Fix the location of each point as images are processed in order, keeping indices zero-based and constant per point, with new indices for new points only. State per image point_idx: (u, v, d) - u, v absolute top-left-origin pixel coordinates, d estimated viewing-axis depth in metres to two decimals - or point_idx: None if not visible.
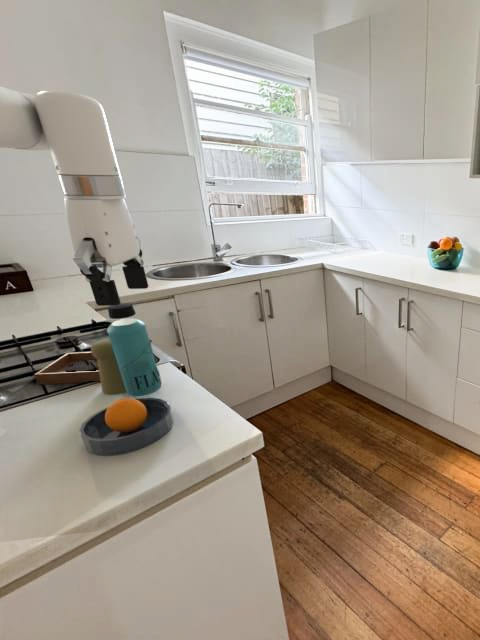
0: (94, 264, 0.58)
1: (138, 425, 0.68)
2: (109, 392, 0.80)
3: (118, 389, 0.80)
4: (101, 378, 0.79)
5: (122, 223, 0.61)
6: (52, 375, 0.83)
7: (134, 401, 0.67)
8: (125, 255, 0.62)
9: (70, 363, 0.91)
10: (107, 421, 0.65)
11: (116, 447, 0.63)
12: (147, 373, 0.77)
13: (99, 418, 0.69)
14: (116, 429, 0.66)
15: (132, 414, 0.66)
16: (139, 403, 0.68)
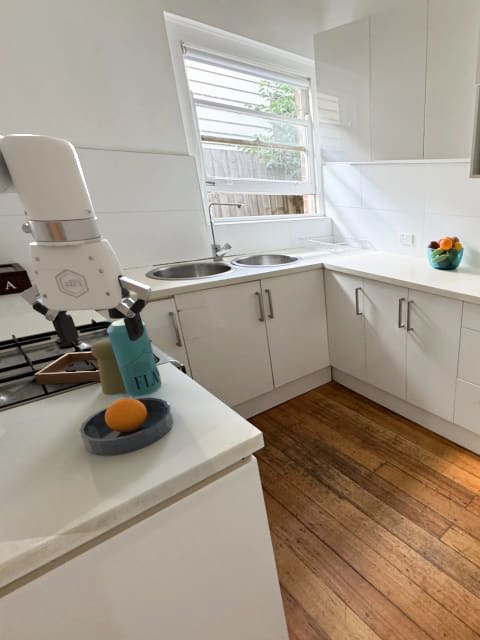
0: (122, 301, 0.60)
1: (138, 425, 0.68)
2: (109, 392, 0.80)
3: (118, 389, 0.80)
4: (101, 378, 0.79)
5: None
6: (52, 375, 0.83)
7: (134, 401, 0.67)
8: None
9: (70, 363, 0.91)
10: (107, 421, 0.65)
11: (116, 447, 0.63)
12: (147, 373, 0.77)
13: (99, 418, 0.69)
14: (116, 429, 0.66)
15: (132, 414, 0.66)
16: (139, 403, 0.68)
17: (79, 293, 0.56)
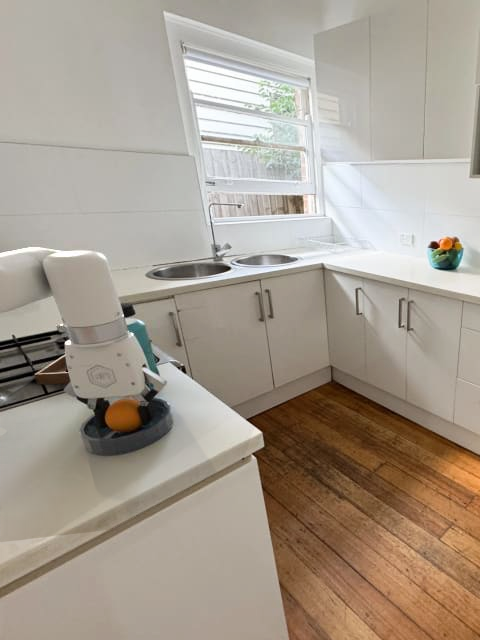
0: None
1: (138, 425, 0.68)
2: None
3: None
4: None
5: None
6: (52, 375, 0.83)
7: (134, 401, 0.67)
8: None
9: None
10: (107, 421, 0.65)
11: (116, 447, 0.63)
12: None
13: None
14: (116, 429, 0.66)
15: (132, 414, 0.66)
16: None
17: (107, 384, 0.62)
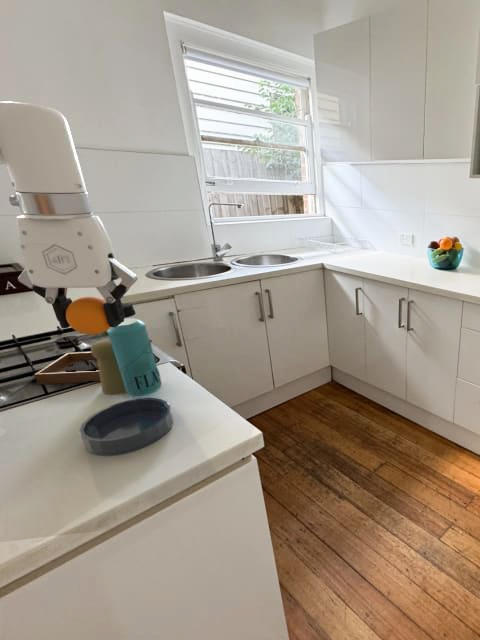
0: (106, 285, 0.58)
1: (104, 327, 0.60)
2: (109, 392, 0.80)
3: (118, 389, 0.80)
4: (101, 378, 0.79)
5: None
6: (52, 375, 0.83)
7: (100, 300, 0.60)
8: None
9: (70, 363, 0.91)
10: (68, 318, 0.58)
11: (116, 447, 0.63)
12: (147, 373, 0.77)
13: (99, 418, 0.69)
14: (78, 328, 0.58)
15: (97, 312, 0.59)
16: None
17: (67, 270, 0.55)
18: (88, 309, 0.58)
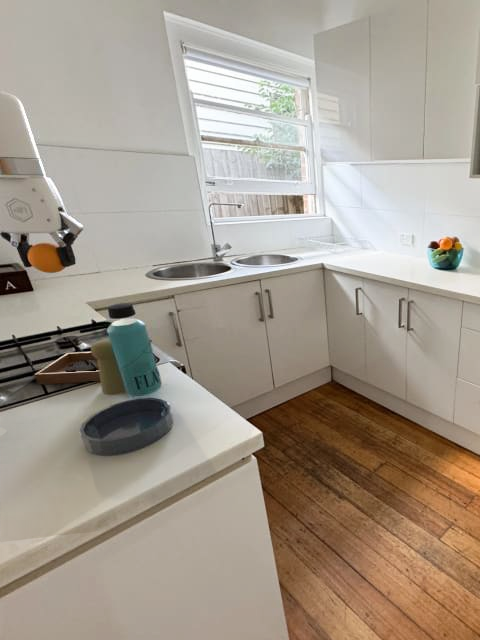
0: (58, 232, 0.75)
1: (58, 266, 0.77)
2: (109, 392, 0.80)
3: (118, 389, 0.80)
4: (101, 378, 0.79)
5: None
6: (52, 375, 0.83)
7: (54, 245, 0.77)
8: None
9: (70, 363, 0.91)
10: (29, 257, 0.74)
11: (116, 447, 0.63)
12: (147, 373, 0.77)
13: (99, 418, 0.69)
14: (37, 266, 0.75)
15: (52, 253, 0.75)
16: None
17: (25, 218, 0.71)
18: (44, 251, 0.75)
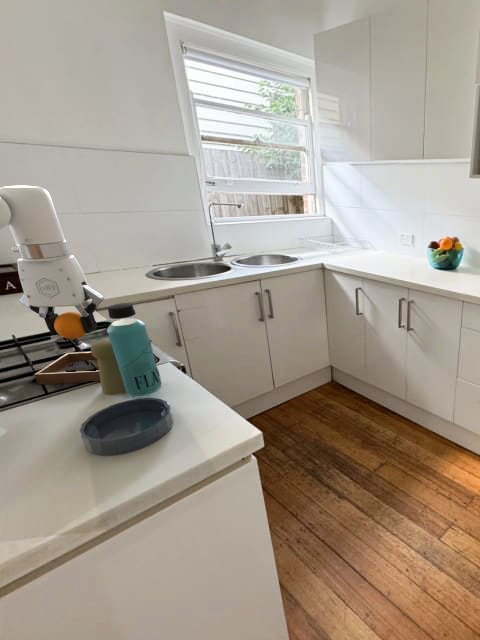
0: (81, 303, 0.83)
1: (81, 333, 0.84)
2: (109, 392, 0.80)
3: (118, 389, 0.80)
4: (101, 378, 0.79)
5: None
6: (52, 375, 0.83)
7: (78, 314, 0.84)
8: None
9: (70, 363, 0.91)
10: (55, 327, 0.82)
11: (116, 447, 0.63)
12: (147, 373, 0.77)
13: (99, 418, 0.69)
14: (63, 334, 0.83)
15: (76, 322, 0.83)
16: None
17: (53, 294, 0.79)
18: (69, 321, 0.82)
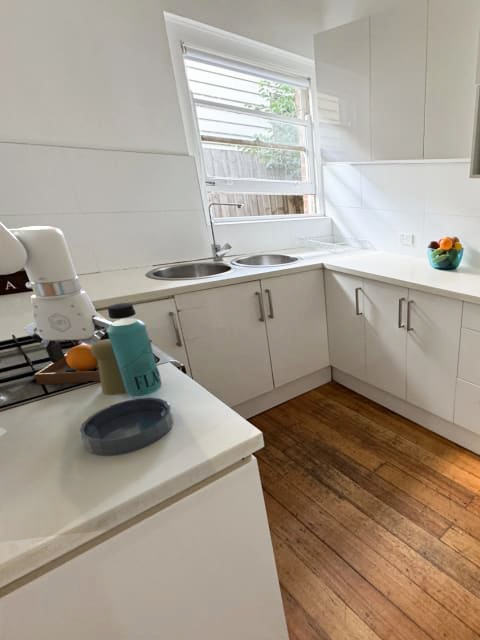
0: (95, 333, 0.86)
1: (93, 366, 0.88)
2: (109, 392, 0.80)
3: (118, 389, 0.80)
4: (101, 378, 0.79)
5: None
6: (52, 375, 0.83)
7: (89, 347, 0.87)
8: None
9: None
10: (67, 361, 0.85)
11: (116, 447, 0.63)
12: (147, 373, 0.77)
13: (99, 418, 0.69)
14: (75, 368, 0.86)
15: (87, 357, 0.86)
16: None
17: (64, 329, 0.82)
18: (81, 356, 0.85)
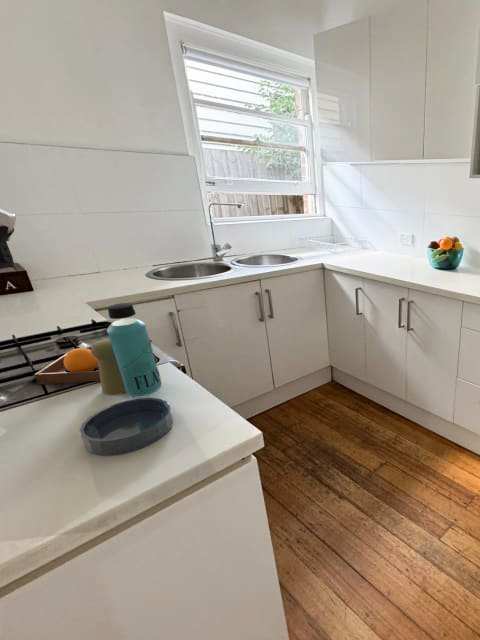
0: None
1: None
2: (109, 392, 0.80)
3: (118, 389, 0.80)
4: (101, 378, 0.79)
5: None
6: (52, 375, 0.83)
7: (86, 356, 0.85)
8: None
9: None
10: (67, 369, 0.84)
11: (116, 447, 0.63)
12: (147, 373, 0.77)
13: (99, 418, 0.69)
14: None
15: (88, 367, 0.85)
16: (91, 356, 0.86)
17: None
18: (81, 367, 0.84)
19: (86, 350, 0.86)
